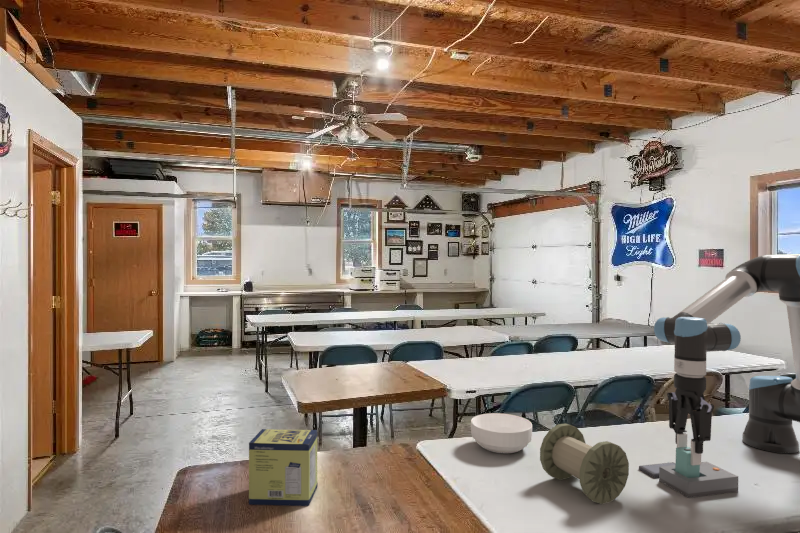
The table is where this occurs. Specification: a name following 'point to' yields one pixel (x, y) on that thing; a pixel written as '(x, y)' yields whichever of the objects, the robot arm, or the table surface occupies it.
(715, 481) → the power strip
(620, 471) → the spool
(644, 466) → the phone
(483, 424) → the bowl
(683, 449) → the block
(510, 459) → the table surface
